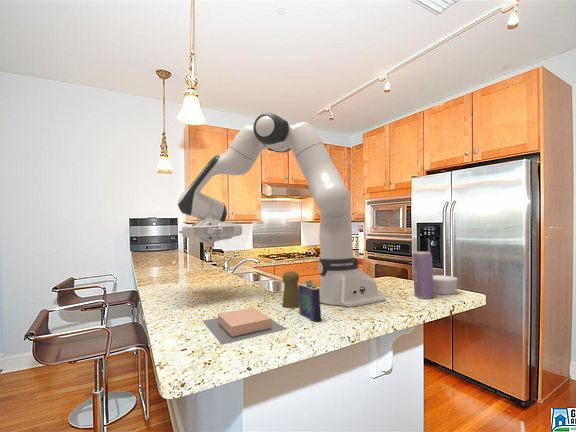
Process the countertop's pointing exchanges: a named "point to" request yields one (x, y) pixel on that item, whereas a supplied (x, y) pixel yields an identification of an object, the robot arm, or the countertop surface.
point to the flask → (309, 301)
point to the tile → (244, 321)
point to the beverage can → (423, 275)
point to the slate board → (227, 338)
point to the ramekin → (444, 284)
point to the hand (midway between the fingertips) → (218, 230)
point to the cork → (291, 290)
